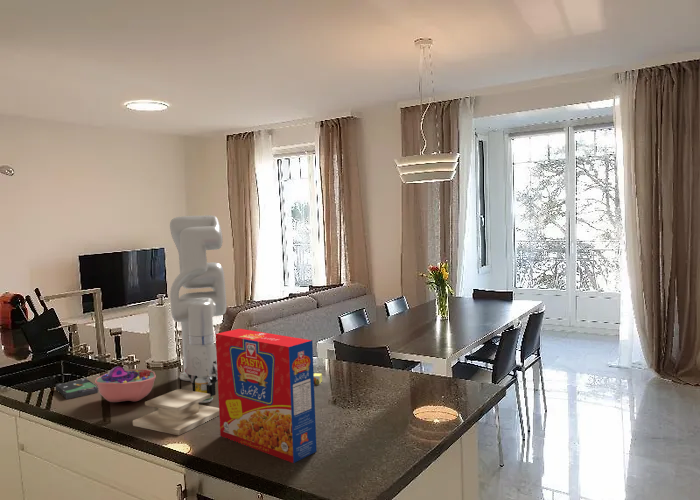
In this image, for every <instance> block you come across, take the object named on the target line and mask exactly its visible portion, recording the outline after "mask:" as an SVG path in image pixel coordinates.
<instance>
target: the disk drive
mask: <svg viewBox="0 0 700 500" xmlns="http://www.w3.org/2000/svg"><path fill="white" fill-rule="evenodd" d="M56 390H57V391H59V392H60V393H61V394H62V395H63V396H64V397H65V398H66V399H65V398H64V397H63V396H62V395H61V394H60V393H59V392H58V393H59V394H60V395H61V396H62V397H63V398H64V399H65V400H71V399H75V398H80V397H85V396H91V395H93V394H98V393H99V389H98V386H97V385H96V383H94V382H92V381H91V380H89V379H88V378H86V377H85V378H80V379H75V380H70V381H68V382H61V383H55V391H56ZM57 391H56V392H57ZM70 398H71V399H70Z"/></svg>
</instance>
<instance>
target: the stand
mask: <svg viewBox="0 0 700 500" xmlns="http://www.w3.org/2000/svg"><path fill="white" fill-rule="evenodd" d="M208 398H210V394H208V393H201V392H195V391H193V390H187V389H181V388H177V389H175V390H172V391H169V392H167V393H164V394H162V395H159V396H156V397H154V398H151V399H149V400H147V401H144V406H147V407H153V408H157V410H155V411H153V412H152V411H151V412H150V413H148V414H145V415H143V416H141V417H138V418H136V419H133V420H132V426H133V427H137V428H142V429H147V430H152V431H157V432H161V433H166V434H171V435H176V436H181V435H182V434H185V433H187V432H189V431H191V430H193V429H196V428H197V427H200V426H201V425H203V424H205V422H206V423H208V422H210V421H211V419H212V420H214V419H215V417H216V418H217V416H218V417H219V407H215V406H211V405H210V406H208V405H203V404H200V403H198V402H201V401H203V400H205V399H208ZM213 418H214V419H213ZM209 420H210V421H209ZM207 421H208V422H207Z"/></svg>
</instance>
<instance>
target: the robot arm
mask: <svg viewBox="0 0 700 500" xmlns="http://www.w3.org/2000/svg"><path fill="white" fill-rule="evenodd" d="M169 229H170V230H169V231H170V236H171V239H172V240H173V243H174V245H175V247H176V249H177V253H178V262H179V263H178V264H179V274H177V276H176V277H175V279H174V280H173V282H172V285H171V287H170V293H169V294H170V295H169V297H170V298H169V299H170V311H171V312H170V313H171V317H172V319H173V321H175V322H176V323H177V322H178V323H180V324H181V325H180V326H181V337H182V357H183V358H182V359H183V372H181V373H180V374H179V379H180V380H182V381H186V382H190V383H191V384H192V391H195V379H196V378H198V377H197V376H201V377H206V378H207V381H208V385H207V393H208V394H210V397H212V396H213V397H214V396H216V384H218V376H217V355H216V343H214V342H215V341H214V340H215V339H214V326H213V325H214V324H213V321H214V320H213V317H219V316H223V315H225V313H226V312H227V306H228V305H227V304H228V303H227V292H226V280H225V279H226V278H225V272H224V271H225V270H224V268H223V266H222V265H221V264H220V262H215V261H214V262H213V261H211V262H208V259H207V251H211V250H213V251H214V250H220V249H221V248H222V246H223V242H224V241H223V232H222V231H223V230H222V227H221V224H220V221H219V219H218V217H217V216H216V215H183V216H181V215H180V216H176V217H174V218H172V219H171V220H170V222H169ZM182 287H183V288H184V289H187V290H191V289H192V290H194V289H212V290H209V291H192V292H186V293H184V294H182V295H180V290H181V288H182ZM179 295H180V296H179ZM210 377H211V378H212V379H211V378H210ZM195 392H196V391H195Z"/></svg>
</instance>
